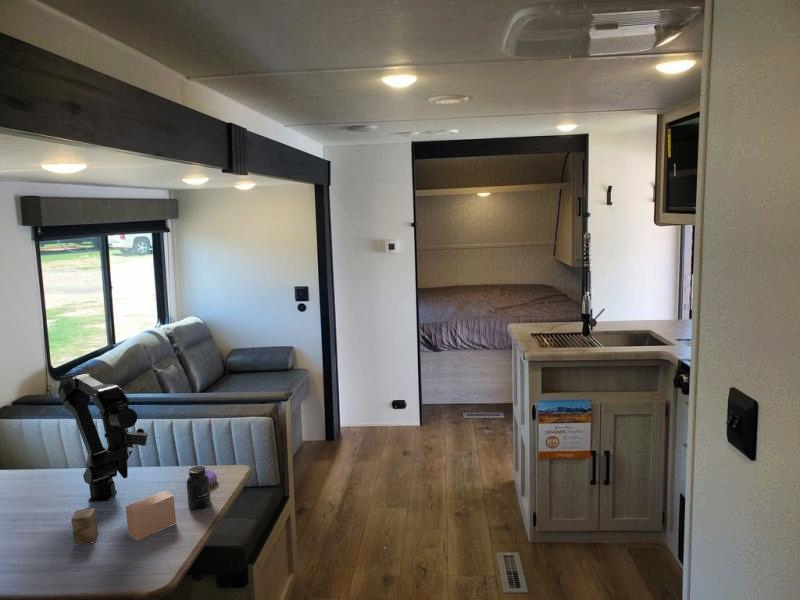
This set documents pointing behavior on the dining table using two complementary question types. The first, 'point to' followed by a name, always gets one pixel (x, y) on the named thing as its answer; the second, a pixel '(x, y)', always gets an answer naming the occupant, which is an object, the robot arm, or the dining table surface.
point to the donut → (211, 477)
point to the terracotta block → (150, 515)
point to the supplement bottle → (198, 488)
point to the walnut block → (84, 526)
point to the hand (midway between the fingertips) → (125, 477)
